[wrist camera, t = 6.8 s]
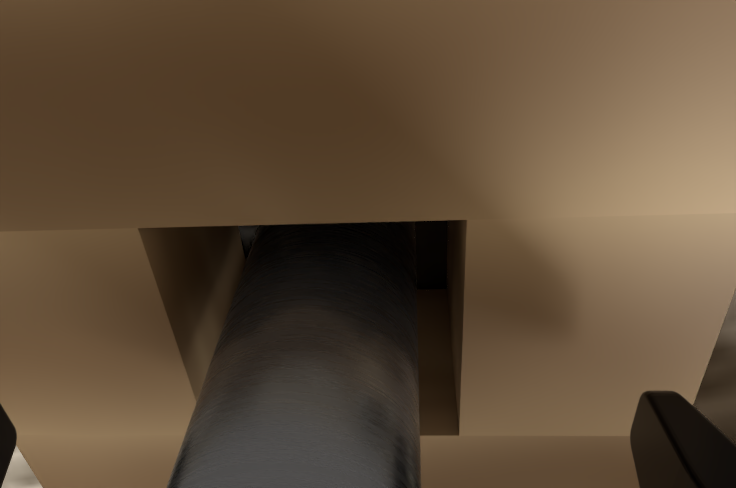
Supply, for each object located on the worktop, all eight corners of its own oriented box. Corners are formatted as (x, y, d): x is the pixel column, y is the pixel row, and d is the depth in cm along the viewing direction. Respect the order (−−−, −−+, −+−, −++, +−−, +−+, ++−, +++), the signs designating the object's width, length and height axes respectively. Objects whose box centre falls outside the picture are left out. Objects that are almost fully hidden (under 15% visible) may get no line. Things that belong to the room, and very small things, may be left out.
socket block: (591, 398, 16) (638, 551, 13) (141, 400, 17) (77, 542, 13) (712, -153, 9) (890, -132, 6) (-65, -99, 10) (-299, -54, 7)
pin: (415, 262, 14) (431, 944, 5) (282, 265, 14) (103, 922, 6) (413, 139, 12) (429, 864, 4) (260, 144, 12) (-42, 839, 4)
